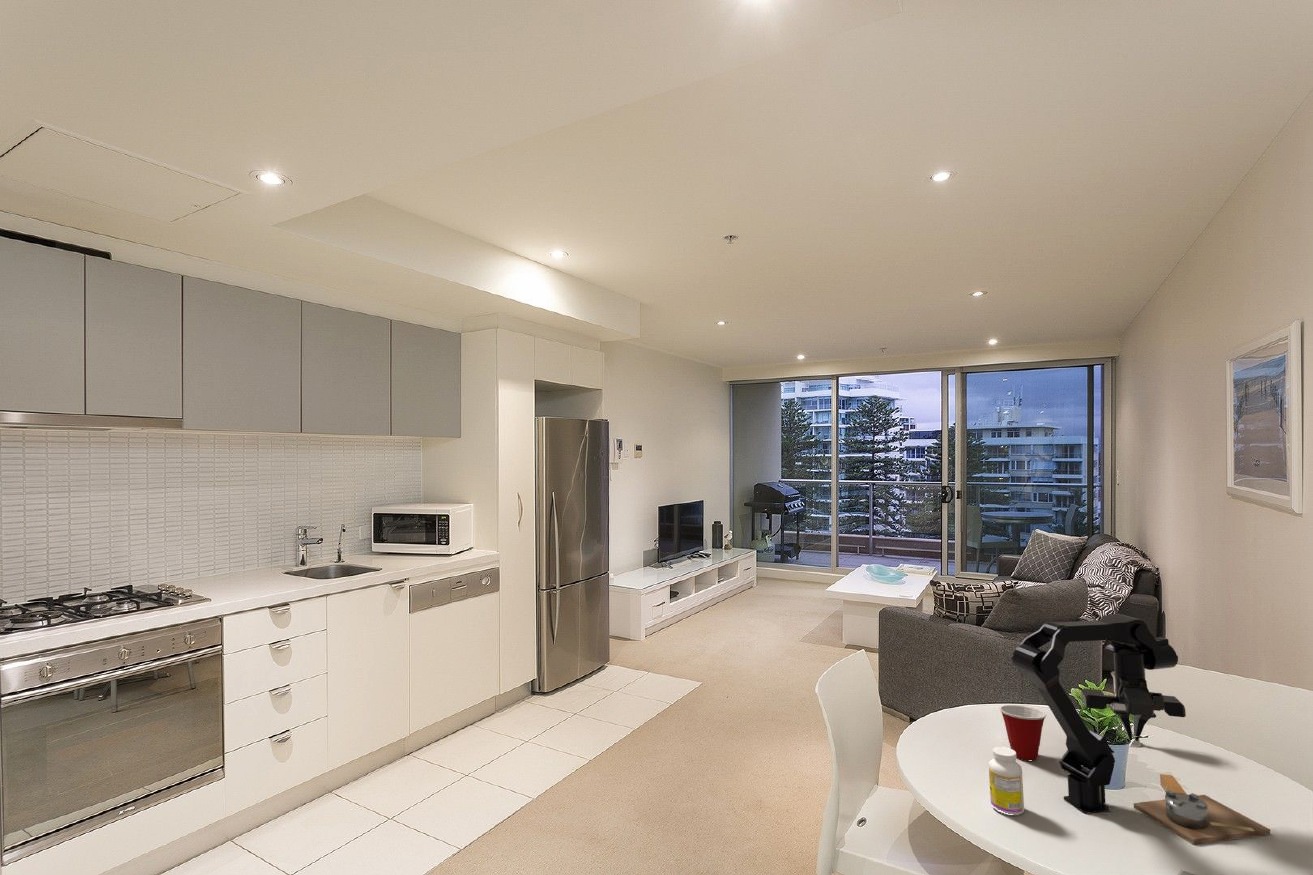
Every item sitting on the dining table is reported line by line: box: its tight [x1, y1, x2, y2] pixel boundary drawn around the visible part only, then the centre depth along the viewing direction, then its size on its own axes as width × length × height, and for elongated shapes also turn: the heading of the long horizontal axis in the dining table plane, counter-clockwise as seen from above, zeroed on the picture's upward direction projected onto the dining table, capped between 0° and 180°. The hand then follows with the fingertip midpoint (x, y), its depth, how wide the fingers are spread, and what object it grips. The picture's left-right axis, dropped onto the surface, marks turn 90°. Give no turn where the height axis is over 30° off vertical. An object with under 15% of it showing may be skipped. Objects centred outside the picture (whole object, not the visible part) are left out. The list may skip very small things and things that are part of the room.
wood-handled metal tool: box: [1159, 773, 1209, 828], centre depth 142 cm, size 16×7×4 cm, turn 158°
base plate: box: [1133, 794, 1272, 845], centre depth 140 cm, size 18×14×1 cm
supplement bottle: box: [988, 746, 1025, 816], centre depth 147 cm, size 7×7×13 cm
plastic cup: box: [999, 704, 1047, 762], centre depth 171 cm, size 11×11×12 cm
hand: (1133, 740), depth 150 cm, fingers closed
